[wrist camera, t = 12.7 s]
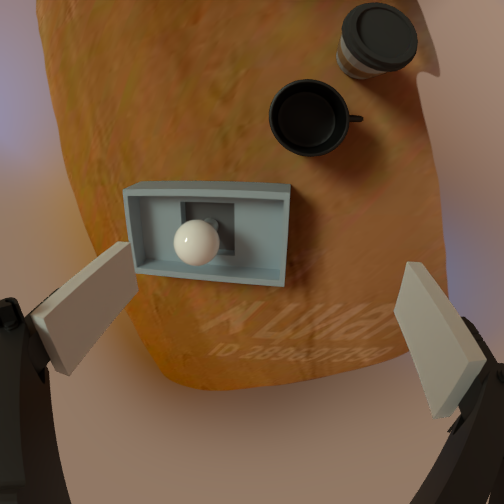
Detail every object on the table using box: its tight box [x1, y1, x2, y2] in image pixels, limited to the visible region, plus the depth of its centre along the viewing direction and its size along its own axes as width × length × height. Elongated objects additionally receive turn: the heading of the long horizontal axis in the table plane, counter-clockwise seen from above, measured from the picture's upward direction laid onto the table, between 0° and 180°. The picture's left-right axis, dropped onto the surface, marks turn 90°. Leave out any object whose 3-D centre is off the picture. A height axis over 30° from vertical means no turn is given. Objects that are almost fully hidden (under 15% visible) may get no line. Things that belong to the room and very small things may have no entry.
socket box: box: [123, 181, 291, 287], centre depth 45 cm, size 14×24×6 cm, turn 89°
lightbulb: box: [173, 218, 220, 266], centre depth 43 cm, size 6×6×11 cm
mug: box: [269, 79, 363, 157], centre depth 35 cm, size 9×12×9 cm
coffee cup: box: [336, 3, 418, 79], centre depth 28 cm, size 8×8×15 cm
